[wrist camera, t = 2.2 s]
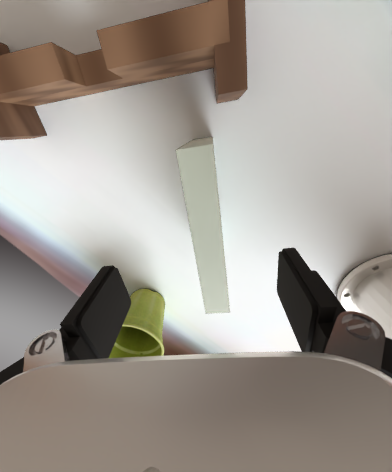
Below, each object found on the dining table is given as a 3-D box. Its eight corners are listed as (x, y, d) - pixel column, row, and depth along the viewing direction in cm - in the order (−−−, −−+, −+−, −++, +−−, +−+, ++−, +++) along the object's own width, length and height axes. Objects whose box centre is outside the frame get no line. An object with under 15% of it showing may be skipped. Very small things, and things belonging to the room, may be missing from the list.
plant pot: (110, 288, 34) (81, 334, 27) (158, 273, 32) (141, 318, 24) (139, 323, 38) (121, 372, 31) (183, 312, 36) (175, 361, 28)
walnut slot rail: (233, -15, 17) (242, -81, 11) (238, 99, 20) (247, 89, 15) (-12, 50, 20) (-93, 22, 15) (30, 138, 24) (-22, 141, 18)
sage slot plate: (212, 136, 22) (212, 144, 12) (223, 244, 29) (229, 312, 18) (192, 139, 22) (175, 149, 12) (208, 246, 29) (205, 313, 18)
